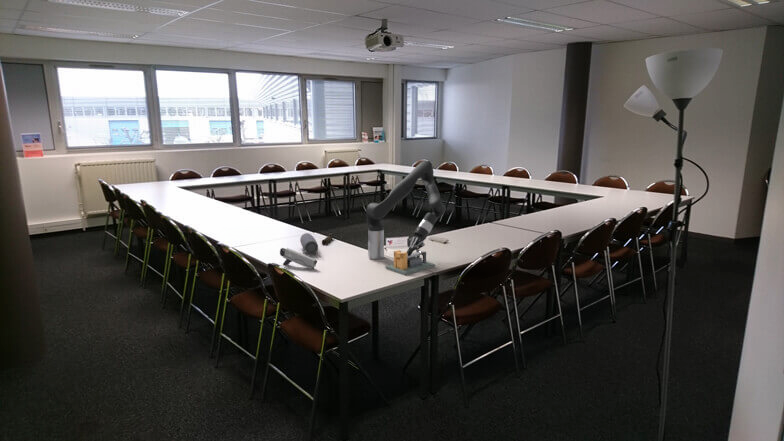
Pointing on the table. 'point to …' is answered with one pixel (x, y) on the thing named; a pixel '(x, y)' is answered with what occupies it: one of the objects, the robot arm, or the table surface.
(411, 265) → the heat sink
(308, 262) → the gun
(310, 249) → the bluetooth speaker
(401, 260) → the tan upright block
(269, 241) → the table surface
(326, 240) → the hand tool
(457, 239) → the table surface
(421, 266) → the socket board
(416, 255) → the grey rod
